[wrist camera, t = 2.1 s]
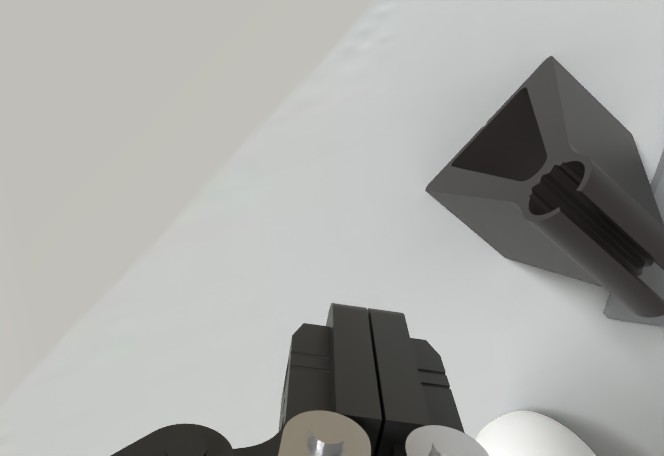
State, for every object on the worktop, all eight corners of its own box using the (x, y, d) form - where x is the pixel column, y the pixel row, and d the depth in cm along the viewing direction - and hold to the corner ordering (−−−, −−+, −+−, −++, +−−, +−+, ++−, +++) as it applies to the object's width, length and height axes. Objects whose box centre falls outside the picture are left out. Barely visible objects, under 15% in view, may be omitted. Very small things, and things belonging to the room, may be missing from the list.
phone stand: (550, 54, 31) (678, 96, 20) (628, 132, 32) (790, 212, 21) (423, 187, 33) (474, 292, 22) (502, 254, 35) (586, 384, 23)
